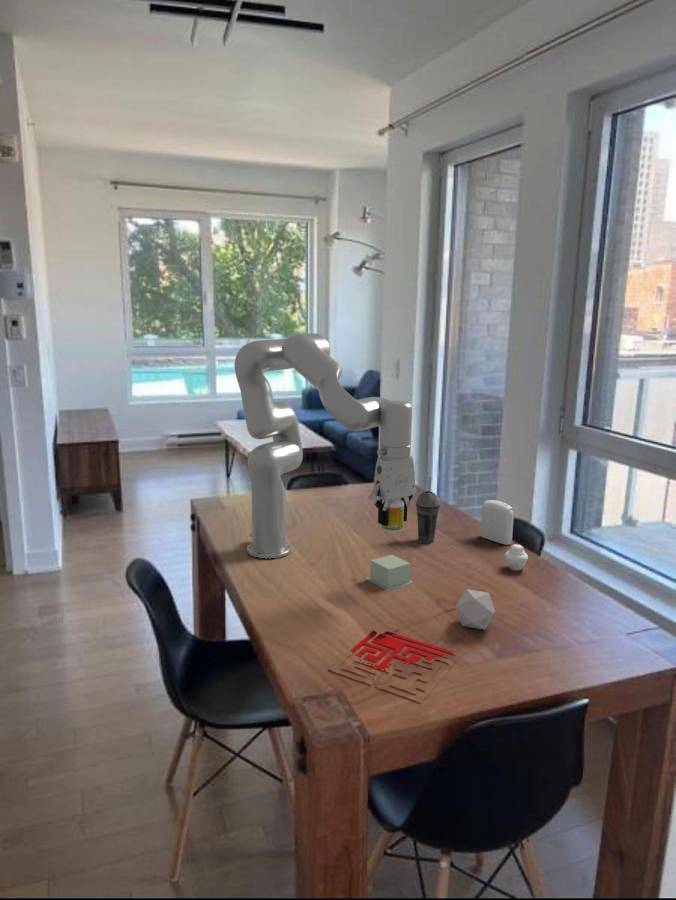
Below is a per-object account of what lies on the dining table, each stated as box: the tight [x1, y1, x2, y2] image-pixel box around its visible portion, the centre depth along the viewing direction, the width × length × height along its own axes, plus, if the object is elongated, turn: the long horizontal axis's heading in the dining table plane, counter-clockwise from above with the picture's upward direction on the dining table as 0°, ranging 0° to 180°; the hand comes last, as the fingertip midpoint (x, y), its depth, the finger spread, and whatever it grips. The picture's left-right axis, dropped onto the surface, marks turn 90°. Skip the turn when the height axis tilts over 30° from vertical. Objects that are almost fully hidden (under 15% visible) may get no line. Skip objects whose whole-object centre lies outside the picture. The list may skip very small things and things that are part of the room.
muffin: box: [504, 543, 529, 571], centre depth 179 cm, size 6×6×7 cm
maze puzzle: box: [350, 630, 455, 673], centre depth 132 cm, size 20×20×1 cm
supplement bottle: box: [381, 498, 404, 533], centre depth 163 cm, size 5×5×10 cm
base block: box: [370, 554, 411, 588], centre depth 167 cm, size 7×7×5 cm
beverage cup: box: [415, 476, 441, 545], centre depth 197 cm, size 7×7×20 cm
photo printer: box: [480, 499, 515, 546], centre depth 200 cm, size 10×4×12 cm, turn 39°
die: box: [455, 589, 496, 631], centre depth 147 cm, size 8×9×10 cm
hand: (392, 521), depth 164 cm, fingers closed on supplement bottle, 5 cm apart
